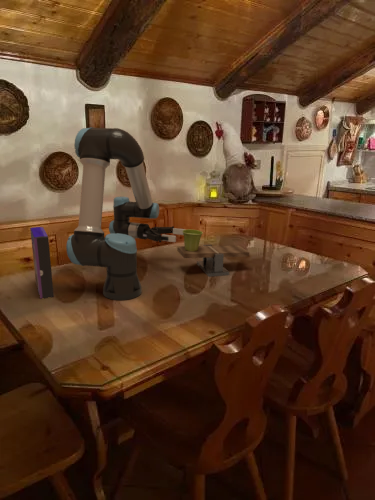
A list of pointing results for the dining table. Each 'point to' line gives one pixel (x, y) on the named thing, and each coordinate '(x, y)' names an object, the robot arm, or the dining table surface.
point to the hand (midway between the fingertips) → (180, 235)
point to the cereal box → (42, 262)
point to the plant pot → (192, 239)
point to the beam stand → (213, 265)
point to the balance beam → (213, 251)
